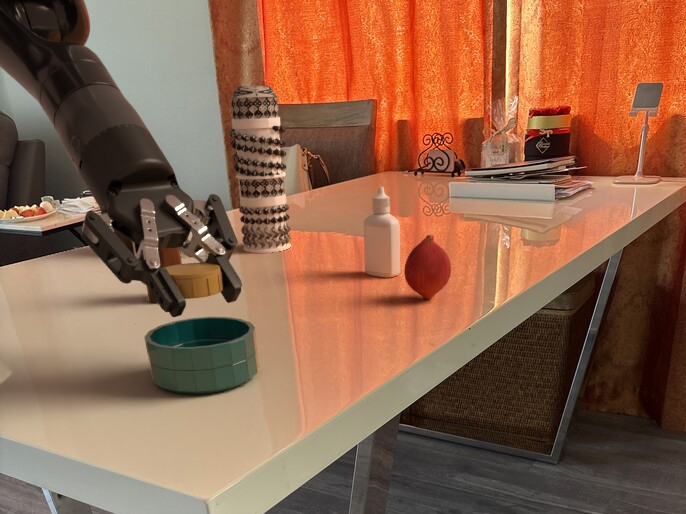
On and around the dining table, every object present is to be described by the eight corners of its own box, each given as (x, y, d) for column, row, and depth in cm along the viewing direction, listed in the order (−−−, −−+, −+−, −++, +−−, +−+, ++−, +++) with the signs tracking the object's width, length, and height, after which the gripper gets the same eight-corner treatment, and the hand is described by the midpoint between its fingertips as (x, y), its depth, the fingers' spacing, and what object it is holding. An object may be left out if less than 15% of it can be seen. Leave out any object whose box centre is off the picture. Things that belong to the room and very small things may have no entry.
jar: (146, 304, 94) (132, 226, 89) (151, 295, 98) (139, 220, 93) (184, 302, 94) (173, 224, 89) (188, 293, 98) (177, 218, 94)
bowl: (141, 399, 64) (132, 351, 62) (166, 361, 73) (158, 318, 71) (253, 395, 64) (247, 346, 62) (263, 358, 73) (259, 314, 71)
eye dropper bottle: (373, 279, 102) (371, 189, 96) (362, 271, 106) (360, 185, 101) (402, 277, 103) (402, 187, 97) (390, 269, 107) (389, 183, 102)
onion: (402, 305, 89) (402, 238, 85) (406, 293, 94) (406, 230, 90) (449, 305, 88) (451, 238, 85) (450, 293, 93) (452, 229, 90)
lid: (231, 293, 64) (228, 269, 63) (173, 302, 61) (169, 277, 60) (211, 282, 68) (208, 260, 67) (155, 290, 65) (152, 267, 64)
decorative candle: (276, 241, 131) (263, 86, 119) (303, 248, 125) (293, 84, 113) (231, 248, 126) (213, 87, 114) (258, 255, 120) (242, 86, 108)
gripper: (172, 176, 73) (257, 311, 71) (33, 192, 64) (126, 347, 62) (193, 117, 67) (286, 262, 65) (43, 126, 58) (146, 295, 56)
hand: (207, 303), depth 63 cm, fingers closed on lid, 5 cm apart
